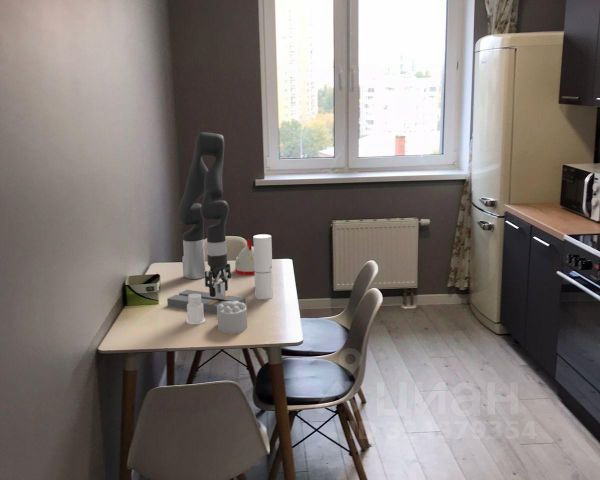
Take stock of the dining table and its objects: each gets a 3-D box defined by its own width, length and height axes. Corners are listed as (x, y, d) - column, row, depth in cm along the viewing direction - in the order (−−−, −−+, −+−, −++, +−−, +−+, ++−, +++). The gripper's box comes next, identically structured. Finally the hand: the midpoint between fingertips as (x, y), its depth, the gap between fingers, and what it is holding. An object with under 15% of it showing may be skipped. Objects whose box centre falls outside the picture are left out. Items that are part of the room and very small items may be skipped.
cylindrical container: (276, 295, 279) (274, 235, 273) (268, 300, 272) (266, 238, 267) (260, 293, 282) (258, 233, 276) (252, 298, 275) (250, 237, 270)
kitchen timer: (237, 276, 308) (236, 243, 305) (233, 268, 321) (231, 237, 318) (267, 273, 311) (266, 241, 308) (262, 266, 324) (261, 235, 321)
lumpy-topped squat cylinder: (246, 320, 249) (245, 297, 247) (248, 332, 237) (247, 308, 235) (217, 322, 248) (216, 299, 246) (218, 334, 235) (217, 310, 233)
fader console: (167, 305, 268) (167, 297, 267) (187, 296, 279) (187, 288, 278) (227, 315, 255) (227, 306, 255) (246, 305, 267) (245, 296, 266)
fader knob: (212, 305, 264) (211, 282, 262) (217, 303, 266) (216, 280, 265) (221, 306, 262) (220, 284, 260) (225, 304, 265) (224, 282, 263)
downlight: (183, 319, 252) (182, 293, 249) (202, 316, 254) (201, 290, 252) (189, 326, 245) (187, 300, 242) (208, 323, 247) (207, 297, 245)
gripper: (219, 247, 268) (221, 287, 271) (197, 255, 255) (200, 297, 259) (235, 249, 264) (237, 289, 268) (214, 257, 252) (216, 299, 255)
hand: (218, 293), depth 263 cm, fingers open, 8 cm apart
